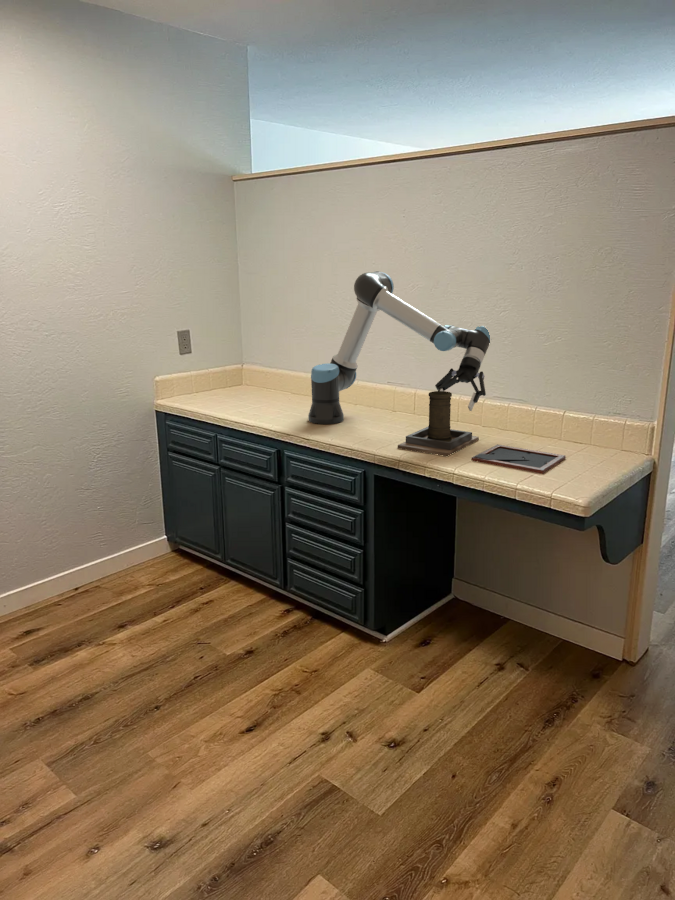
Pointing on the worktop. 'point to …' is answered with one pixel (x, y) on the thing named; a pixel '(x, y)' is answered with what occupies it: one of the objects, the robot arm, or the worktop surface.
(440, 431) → the container
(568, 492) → the worktop surface
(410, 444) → the holder
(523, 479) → the worktop surface
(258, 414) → the worktop surface
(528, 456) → the picture frame
